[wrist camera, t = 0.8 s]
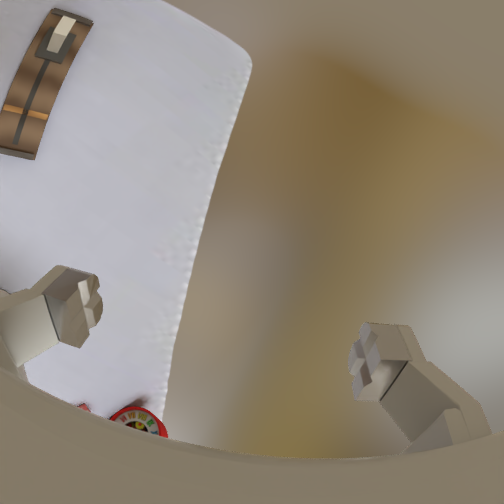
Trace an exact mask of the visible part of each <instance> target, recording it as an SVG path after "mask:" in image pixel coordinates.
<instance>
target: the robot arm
mask: <svg viewBox="0 0 504 504" xmlns="http://www.w3.org/2000/svg"><path fill="white" fill-rule="evenodd" d="M99 287H100V285H99V280H98V277H97V276H96V275H95V274H91V273H88V272H84V271H81V270H77V269H74V268H69V267H66V266H62V265H56V266H55V267H54V268H53V269H52V270H50V271H49V272H48V273H47V274H46V275H45V276H44V277H43V278H42V279H40V280H39V281H38V282H37V283H36V284H35V285H34V286H33V287H32V288H31V289H30V290H29V289H24V290H21V291H18V292H15V293H12V294H9V293H7V292H6V291H4V290H1V289H0V504H504V431H501V432H498V433H495V434H492V432H491V429H490V427H489V425H488V422H487V419H486V417H485V414H484V412H483V409H482V407H481V405H480V403H479V402H478V401H477V400H475V399H474V398H473V397H472V396H471V395H470V394H468V393H467V392H466V391H465V390H464V389H463V388H461V387H460V386H459V385H458V384H457V383H455V382H454V381H453V380H452V379H451V378H450V377H448V376H447V375H446V374H445V373H443V372H442V371H441V370H440V369H438V367H436V366H435V365H434V364H433V363H432V362H427V361H426V359H425V357H424V355H423V353H422V350H421V348H420V346H419V343H418V341H417V339H416V337H415V335H414V333H413V331H412V329H411V327H409V326H408V325H389V324H378V323H369V322H365V323H364V324H363V325H362V326H361V329H360V331H359V335H360V339H359V340H357V341H356V342H354V343H353V346H352V348H351V350H350V354H349V360H348V364H349V365H348V366H349V372H350V373H351V374H352V375H353V376H354V377H355V379H354V381H353V382H352V387H353V393H354V398H355V401H380V404H381V405H382V406H383V408H384V409H385V410H386V412H387V413H388V414H389V415H390V416H391V418H392V419H393V420H394V422H395V423H396V424H397V426H398V427H399V428H400V429H401V431H402V432H403V433H404V435H405V436H406V437H407V438H408V440H409V441H410V442H411V444H410V445H409V446H408V447H407V448H406V449H405V450H404V451H402V452H401V454H398V455H390V456H380V457H367V458H345V459H308V458H288V457H287V458H286V457H274V456H264V455H255V454H246V453H239V452H233V451H226V450H220V449H214V448H209V447H204V446H199V445H194V444H190V443H185V442H181V441H177V440H173V439H169V438H165V437H162V436H158V435H155V434H151V433H148V432H144V431H141V430H138V429H135V428H132V427H129V426H126V425H123V424H120V423H117V422H114V421H111V420H109V419H106V418H103V417H101V416H98V415H96V414H93V413H91V412H88V411H86V410H83V409H81V408H79V407H76V406H74V405H72V404H70V403H67V402H65V401H63V400H61V399H59V398H57V397H55V396H53V395H51V394H49V393H47V392H45V391H43V390H41V389H39V388H37V387H35V386H33V385H31V384H30V383H29V381H28V378H27V375H26V372H25V369H24V365H23V364H24V363H26V362H28V361H29V360H31V359H32V358H34V357H36V356H37V355H39V354H41V353H42V352H44V351H46V350H47V349H49V348H51V347H52V346H54V345H56V344H57V343H59V341H60V342H63V343H66V344H69V345H71V346H74V347H77V348H81V346H82V345H83V343H84V342H85V340H86V339H87V338H88V336H89V335H90V334H89V329H90V328H92V327H94V326H96V325H97V323H98V322H99V320H100V318H101V315H102V312H103V302H102V298H101V296H100V295H99V294H98V292H97V290H98V288H99Z"/></svg>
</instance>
